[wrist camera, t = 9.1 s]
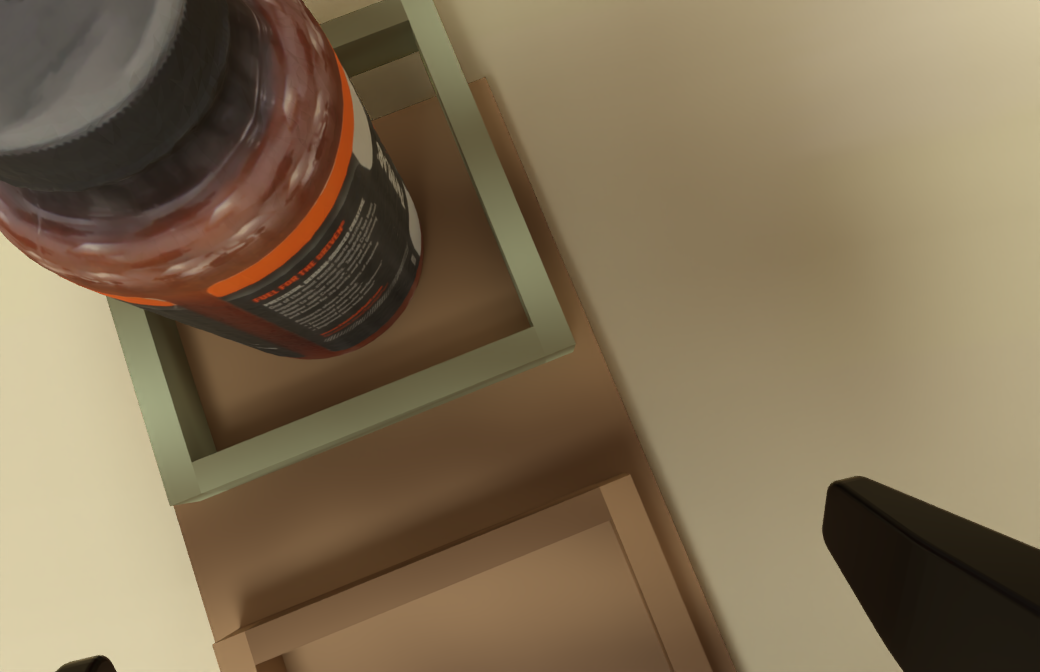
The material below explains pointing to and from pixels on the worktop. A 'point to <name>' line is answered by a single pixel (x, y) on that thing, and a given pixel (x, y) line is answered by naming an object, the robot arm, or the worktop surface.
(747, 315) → the worktop surface
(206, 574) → the wooden tray
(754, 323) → the worktop surface
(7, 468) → the worktop surface
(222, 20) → the supplement bottle
